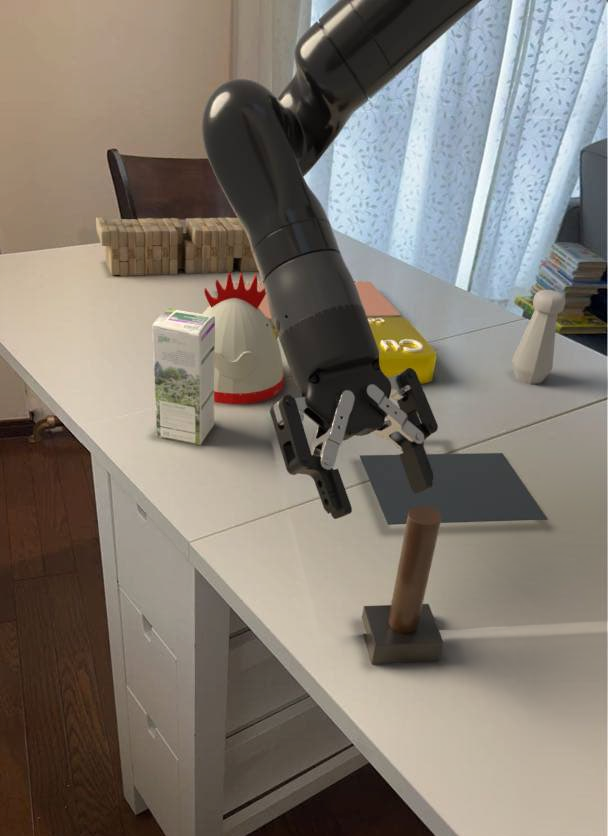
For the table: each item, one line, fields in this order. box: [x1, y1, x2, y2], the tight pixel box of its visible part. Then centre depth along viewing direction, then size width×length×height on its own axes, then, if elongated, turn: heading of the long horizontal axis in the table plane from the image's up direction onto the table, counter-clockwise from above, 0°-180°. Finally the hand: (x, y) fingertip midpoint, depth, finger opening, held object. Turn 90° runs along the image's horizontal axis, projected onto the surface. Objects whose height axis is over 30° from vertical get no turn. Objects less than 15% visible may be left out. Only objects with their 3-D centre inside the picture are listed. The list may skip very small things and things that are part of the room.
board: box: [359, 452, 548, 525], centre depth 91 cm, size 18×14×1 cm
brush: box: [361, 506, 444, 666], centre depth 67 cm, size 6×5×14 cm
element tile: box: [367, 316, 438, 385], centre depth 117 cm, size 15×15×5 cm
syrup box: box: [151, 308, 215, 446], centre depth 94 cm, size 6×6×14 cm
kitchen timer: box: [202, 272, 285, 405], centre depth 106 cm, size 14×14×15 cm
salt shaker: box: [511, 289, 566, 385], centre depth 115 cm, size 6×6×13 cm
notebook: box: [220, 279, 402, 328], centre depth 134 cm, size 27×17×2 cm, turn 105°
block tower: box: [95, 217, 259, 277], centre depth 144 cm, size 8×8×29 cm
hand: (384, 503), depth 66 cm, fingers open, 8 cm apart
